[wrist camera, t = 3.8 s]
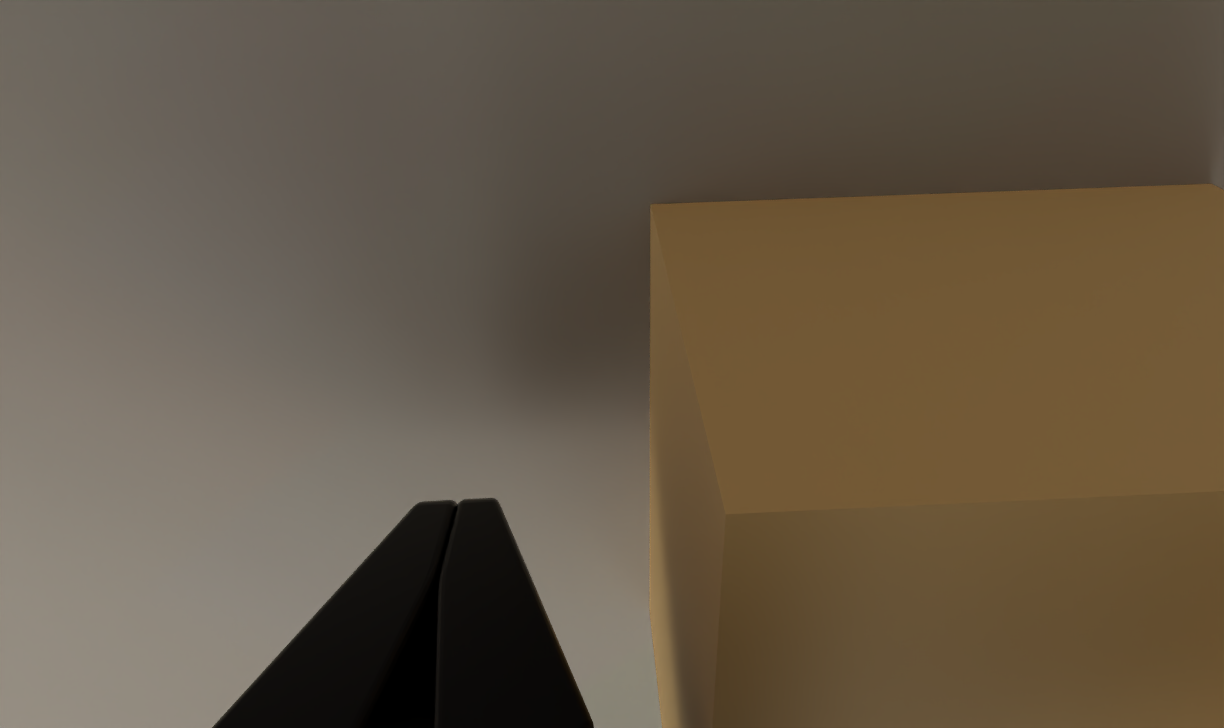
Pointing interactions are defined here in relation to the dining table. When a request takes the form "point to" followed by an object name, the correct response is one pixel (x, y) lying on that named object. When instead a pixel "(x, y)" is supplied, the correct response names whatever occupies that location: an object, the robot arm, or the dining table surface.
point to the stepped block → (939, 460)
